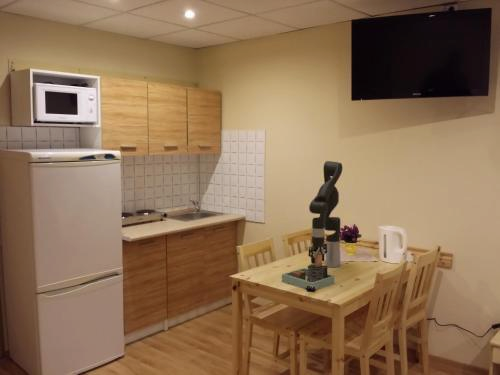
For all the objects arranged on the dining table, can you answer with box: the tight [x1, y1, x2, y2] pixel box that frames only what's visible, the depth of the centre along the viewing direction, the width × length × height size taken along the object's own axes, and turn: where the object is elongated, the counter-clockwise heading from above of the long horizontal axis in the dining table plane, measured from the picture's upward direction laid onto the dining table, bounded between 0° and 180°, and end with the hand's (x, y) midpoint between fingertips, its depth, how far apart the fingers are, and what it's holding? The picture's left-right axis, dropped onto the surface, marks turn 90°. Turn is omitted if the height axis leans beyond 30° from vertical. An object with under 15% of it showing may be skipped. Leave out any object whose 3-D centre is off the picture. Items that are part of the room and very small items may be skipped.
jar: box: [314, 252, 323, 267], centre depth 275 cm, size 5×5×8 cm
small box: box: [307, 263, 328, 281], centre depth 275 cm, size 11×6×10 cm, turn 59°
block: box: [292, 269, 307, 281], centre depth 279 cm, size 6×6×6 cm
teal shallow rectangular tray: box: [281, 267, 336, 291], centre depth 277 cm, size 20×24×4 cm
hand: (317, 262), depth 275 cm, fingers open, 8 cm apart
